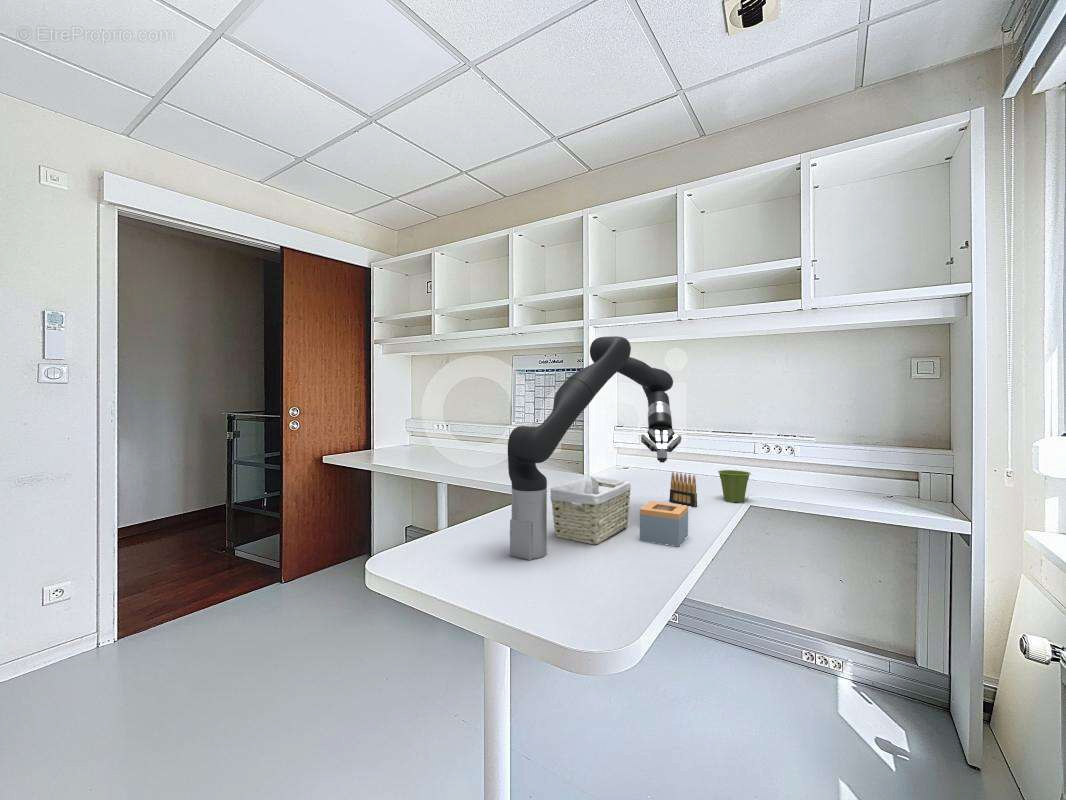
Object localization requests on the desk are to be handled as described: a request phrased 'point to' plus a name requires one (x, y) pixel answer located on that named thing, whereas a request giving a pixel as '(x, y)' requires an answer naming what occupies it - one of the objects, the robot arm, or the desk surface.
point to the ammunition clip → (683, 490)
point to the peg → (664, 508)
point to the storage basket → (590, 509)
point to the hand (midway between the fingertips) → (662, 460)
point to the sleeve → (664, 523)
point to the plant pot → (734, 484)
